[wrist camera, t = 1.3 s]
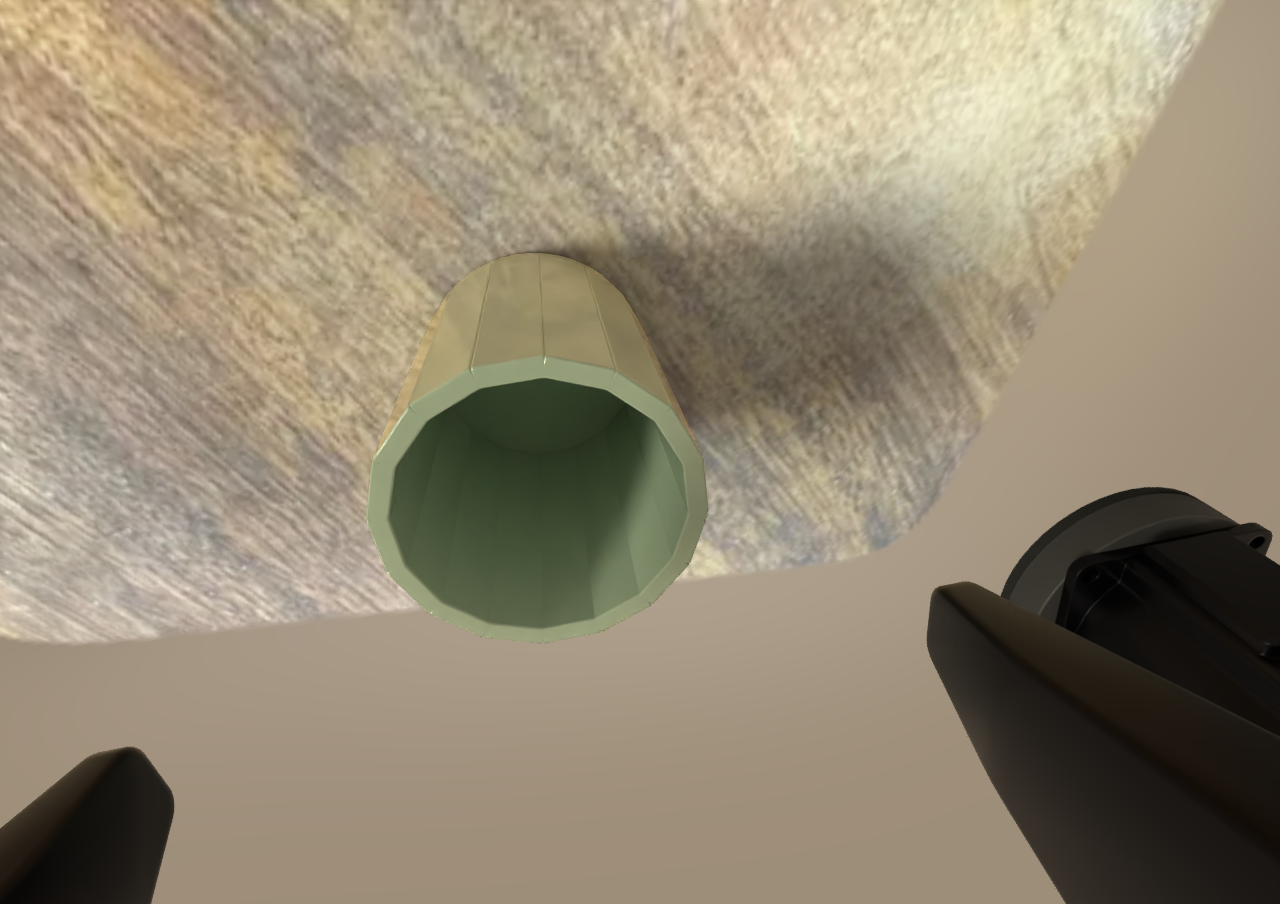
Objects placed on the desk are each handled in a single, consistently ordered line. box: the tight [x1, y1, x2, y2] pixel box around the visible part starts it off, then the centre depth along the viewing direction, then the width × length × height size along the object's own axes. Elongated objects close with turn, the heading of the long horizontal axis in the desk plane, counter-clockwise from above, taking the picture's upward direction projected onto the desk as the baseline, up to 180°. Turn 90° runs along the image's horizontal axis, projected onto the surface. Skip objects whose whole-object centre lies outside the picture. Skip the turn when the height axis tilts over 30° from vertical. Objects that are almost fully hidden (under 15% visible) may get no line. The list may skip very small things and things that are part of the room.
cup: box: [366, 253, 708, 643], centre depth 14 cm, size 5×5×7 cm
